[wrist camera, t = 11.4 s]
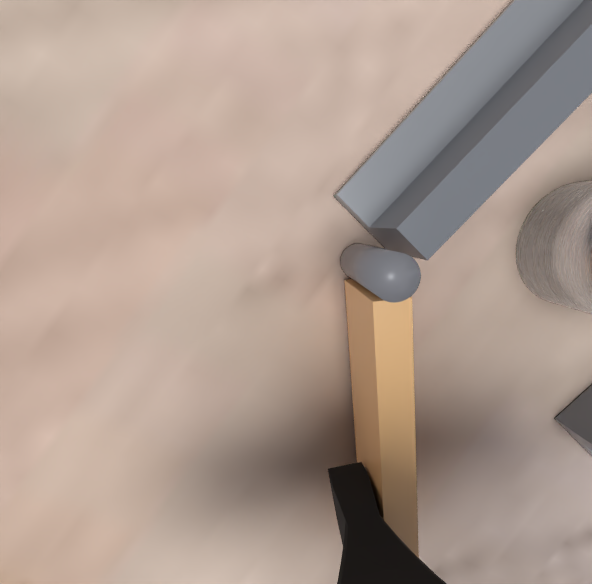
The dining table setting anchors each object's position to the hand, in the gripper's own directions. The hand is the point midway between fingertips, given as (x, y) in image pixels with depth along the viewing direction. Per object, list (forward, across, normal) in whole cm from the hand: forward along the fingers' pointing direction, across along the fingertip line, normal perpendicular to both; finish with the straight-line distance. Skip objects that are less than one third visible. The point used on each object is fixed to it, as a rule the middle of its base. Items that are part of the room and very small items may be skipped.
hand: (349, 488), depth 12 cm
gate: (+1, -1, -2) cm, 3 cm away
